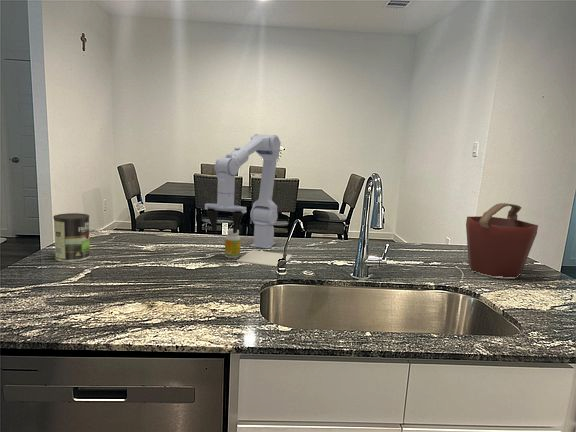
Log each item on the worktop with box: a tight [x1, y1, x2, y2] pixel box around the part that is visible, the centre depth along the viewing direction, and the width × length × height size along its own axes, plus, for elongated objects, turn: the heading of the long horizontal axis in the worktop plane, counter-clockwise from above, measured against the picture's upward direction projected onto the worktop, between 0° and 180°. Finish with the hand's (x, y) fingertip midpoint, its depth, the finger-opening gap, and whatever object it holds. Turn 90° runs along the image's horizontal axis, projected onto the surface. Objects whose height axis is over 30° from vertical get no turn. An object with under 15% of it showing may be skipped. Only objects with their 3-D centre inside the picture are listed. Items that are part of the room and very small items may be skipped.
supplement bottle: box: [224, 228, 241, 259], centre depth 149 cm, size 5×5×10 cm
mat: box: [236, 249, 294, 268], centre depth 148 cm, size 16×16×1 cm
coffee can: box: [52, 212, 91, 263], centre depth 135 cm, size 10×10×14 cm
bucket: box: [465, 202, 539, 277], centre depth 146 cm, size 24×22×25 cm
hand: (224, 231), depth 144 cm, fingers open, 7 cm apart
